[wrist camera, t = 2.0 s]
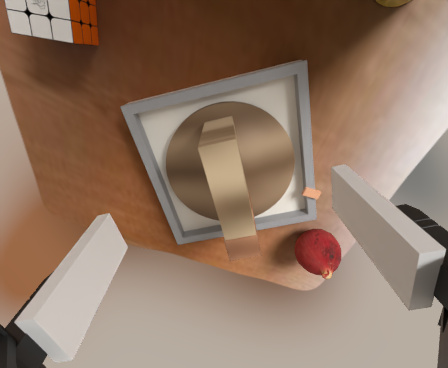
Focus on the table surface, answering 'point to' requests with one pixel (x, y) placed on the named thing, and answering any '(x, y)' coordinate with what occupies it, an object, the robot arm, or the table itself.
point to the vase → (392, 2)
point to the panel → (220, 92)
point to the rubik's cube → (55, 20)
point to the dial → (231, 169)
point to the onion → (318, 252)
